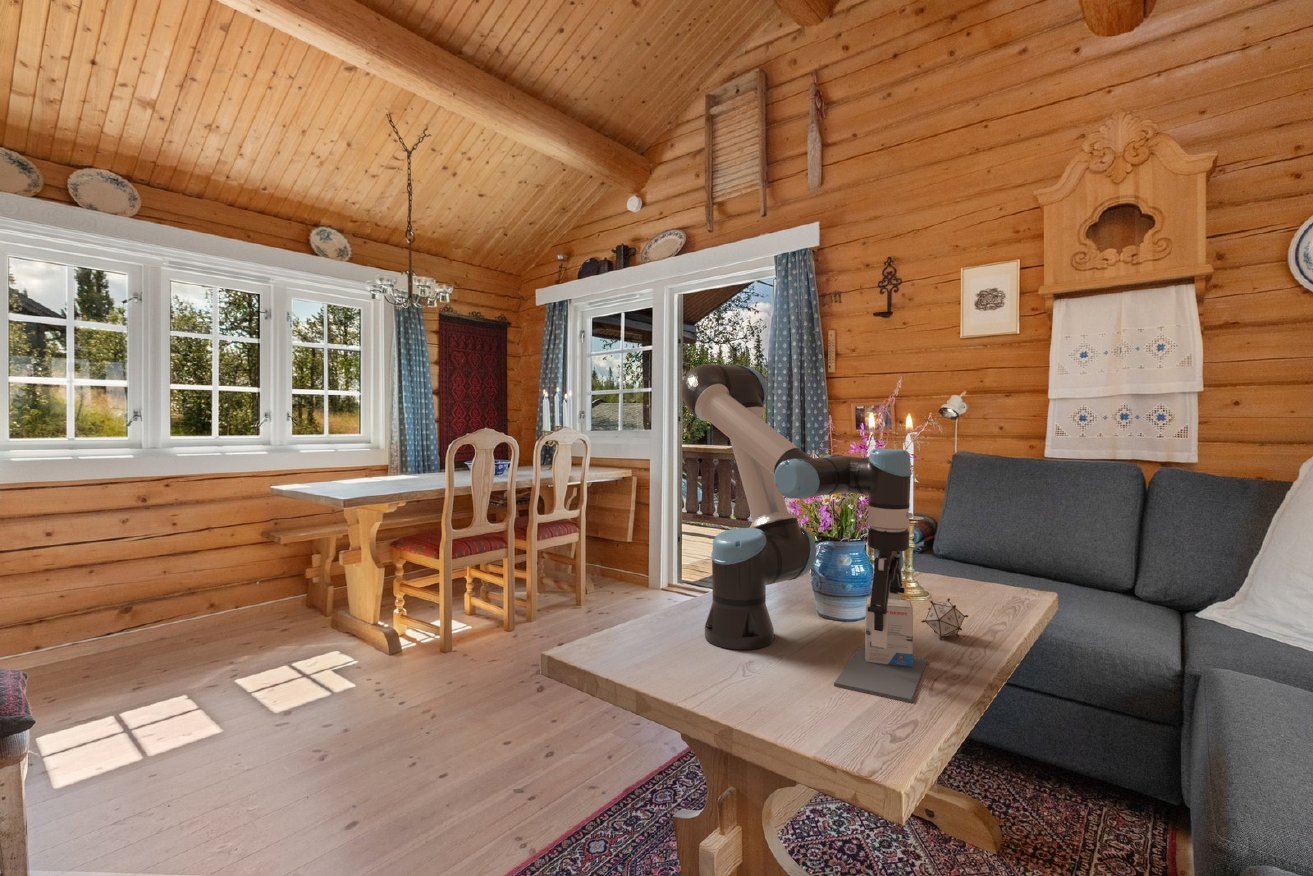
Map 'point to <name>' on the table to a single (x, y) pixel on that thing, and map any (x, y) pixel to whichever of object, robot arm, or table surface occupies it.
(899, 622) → the ink box
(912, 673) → the mat
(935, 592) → the table surface
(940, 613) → the game die
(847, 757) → the table surface
